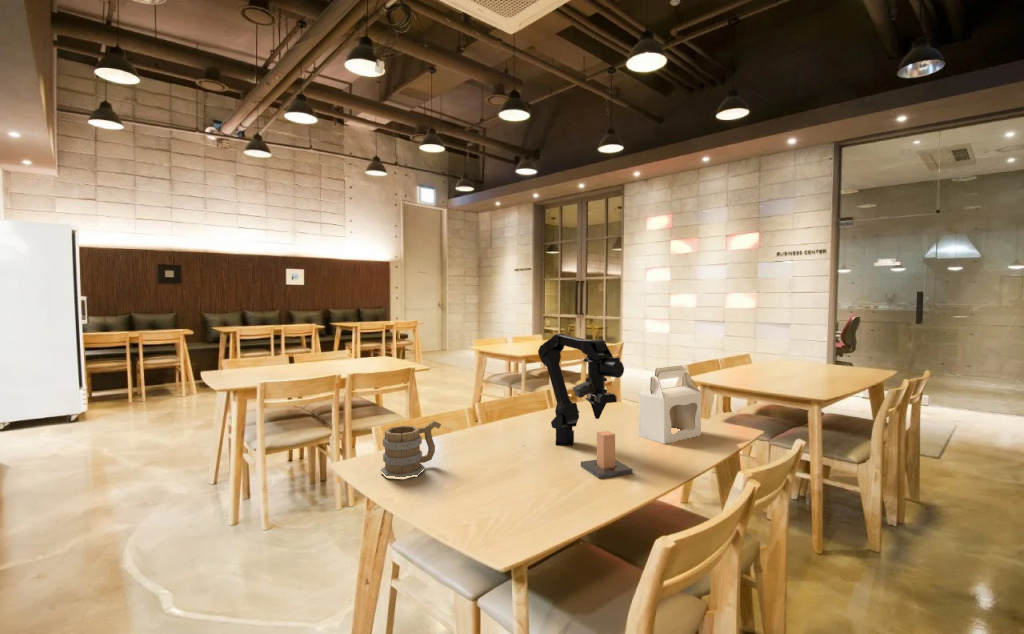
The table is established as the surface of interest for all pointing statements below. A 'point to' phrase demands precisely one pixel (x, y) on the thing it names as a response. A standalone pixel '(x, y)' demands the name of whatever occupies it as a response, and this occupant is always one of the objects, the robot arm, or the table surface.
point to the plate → (605, 473)
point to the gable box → (669, 407)
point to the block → (606, 449)
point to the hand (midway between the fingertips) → (597, 418)
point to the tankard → (407, 449)
